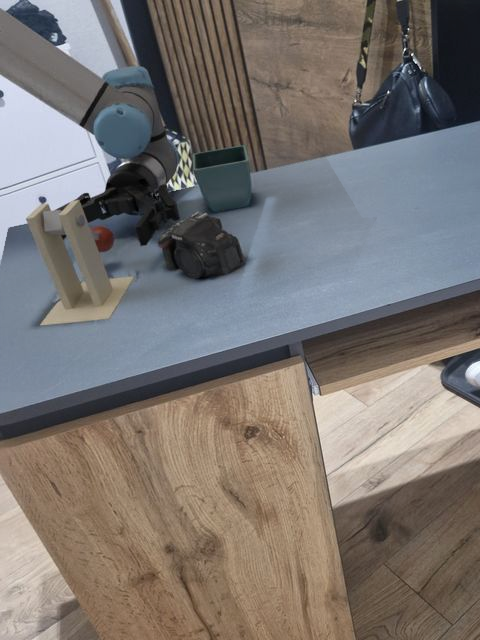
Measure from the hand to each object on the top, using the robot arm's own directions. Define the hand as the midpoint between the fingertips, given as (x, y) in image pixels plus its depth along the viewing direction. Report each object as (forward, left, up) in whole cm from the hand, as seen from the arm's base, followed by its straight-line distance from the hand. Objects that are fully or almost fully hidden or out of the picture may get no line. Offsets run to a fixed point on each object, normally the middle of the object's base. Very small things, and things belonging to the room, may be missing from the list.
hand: (91, 241), depth 86 cm
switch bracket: (+2, -6, -6) cm, 9 cm away
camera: (+14, +4, -7) cm, 16 cm away
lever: (+1, -3, +1) cm, 3 cm away
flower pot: (+8, +26, -7) cm, 28 cm away
